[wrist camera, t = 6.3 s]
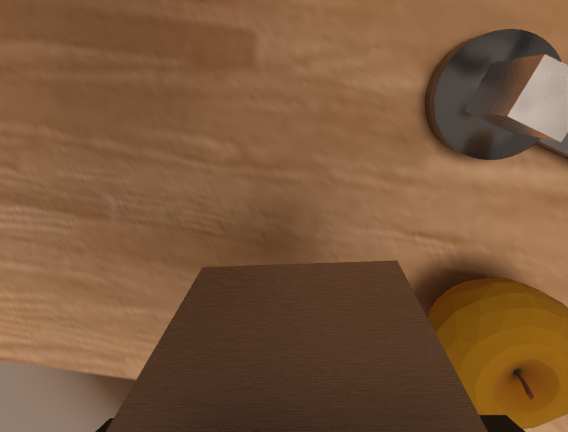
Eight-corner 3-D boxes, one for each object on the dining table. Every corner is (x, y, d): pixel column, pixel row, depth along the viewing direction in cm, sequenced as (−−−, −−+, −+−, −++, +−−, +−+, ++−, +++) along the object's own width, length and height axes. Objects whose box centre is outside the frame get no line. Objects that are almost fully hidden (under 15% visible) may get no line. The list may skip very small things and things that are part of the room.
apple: (548, 254, 27) (662, 332, 18) (515, 363, 29) (600, 475, 21) (415, 243, 27) (465, 314, 18) (394, 352, 30) (430, 458, 21)
